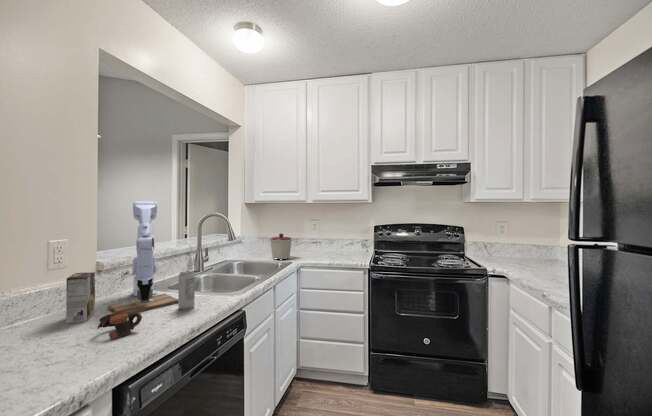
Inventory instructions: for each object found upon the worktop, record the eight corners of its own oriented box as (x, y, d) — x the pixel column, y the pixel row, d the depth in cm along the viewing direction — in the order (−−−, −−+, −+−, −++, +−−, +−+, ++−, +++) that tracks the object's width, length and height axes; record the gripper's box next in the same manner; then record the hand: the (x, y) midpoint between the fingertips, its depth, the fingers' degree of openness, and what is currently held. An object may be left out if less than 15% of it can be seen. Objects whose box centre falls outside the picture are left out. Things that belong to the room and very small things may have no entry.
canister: (266, 260, 238) (266, 234, 238) (274, 257, 256) (275, 232, 256) (287, 261, 234) (287, 234, 234) (295, 258, 252) (295, 232, 252)
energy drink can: (187, 304, 128) (188, 269, 128) (197, 306, 125) (198, 270, 125) (175, 308, 123) (175, 271, 123) (185, 311, 120) (185, 273, 120)
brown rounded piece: (98, 345, 91) (92, 318, 93) (105, 347, 98) (100, 322, 101) (143, 327, 97) (137, 302, 99) (147, 330, 105) (140, 307, 107)
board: (108, 307, 123) (108, 302, 123) (164, 296, 140) (165, 291, 140) (120, 316, 113) (120, 310, 113) (179, 302, 130) (179, 297, 130)
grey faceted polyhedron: (137, 297, 127) (137, 288, 127) (152, 295, 130) (152, 286, 130) (137, 300, 123) (137, 291, 123) (152, 298, 126) (152, 289, 126)
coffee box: (74, 315, 114) (75, 272, 114) (95, 313, 117) (95, 271, 117) (65, 324, 106) (65, 278, 106) (87, 321, 108) (88, 276, 108)
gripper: (134, 263, 131) (134, 295, 131) (133, 269, 118) (133, 304, 118) (153, 262, 134) (152, 292, 134) (154, 267, 122) (153, 301, 122)
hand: (144, 298), depth 127 cm, fingers open, 5 cm apart
